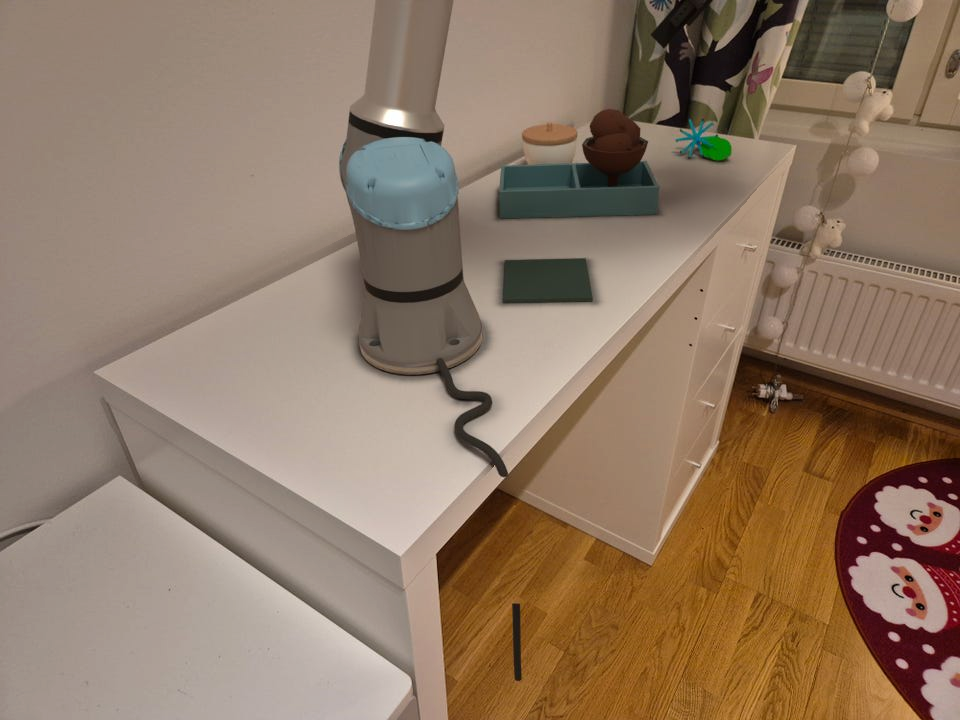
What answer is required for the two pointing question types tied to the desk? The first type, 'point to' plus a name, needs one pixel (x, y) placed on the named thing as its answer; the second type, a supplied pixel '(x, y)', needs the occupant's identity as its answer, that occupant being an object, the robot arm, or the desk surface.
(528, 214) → the divided tray
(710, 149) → the stick construction toy
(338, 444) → the desk surface
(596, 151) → the ice cream bowl
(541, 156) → the trinket box
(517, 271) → the mat
